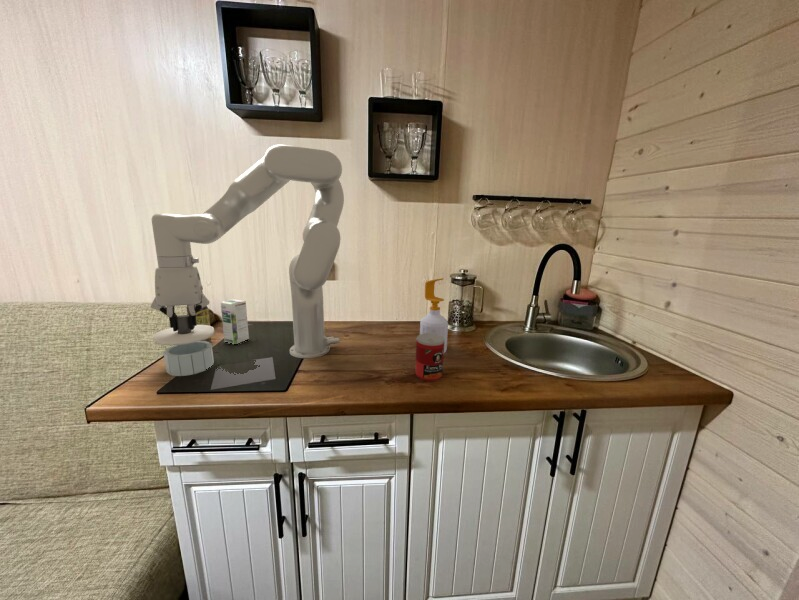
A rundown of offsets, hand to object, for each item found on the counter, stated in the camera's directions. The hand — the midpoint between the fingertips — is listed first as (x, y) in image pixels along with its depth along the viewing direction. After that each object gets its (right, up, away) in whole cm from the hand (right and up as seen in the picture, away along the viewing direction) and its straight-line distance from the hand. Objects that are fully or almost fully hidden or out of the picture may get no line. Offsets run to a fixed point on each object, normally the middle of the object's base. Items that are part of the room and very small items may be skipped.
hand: (184, 328), depth 87 cm
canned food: (+67, -13, +2) cm, 69 cm away
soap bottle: (+70, -9, +19) cm, 74 cm away
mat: (+16, -12, +1) cm, 21 cm away
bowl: (0, -11, +3) cm, 12 cm away
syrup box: (+3, -7, +23) cm, 24 cm away
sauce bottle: (-9, -7, +22) cm, 24 cm away
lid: (0, -2, 0) cm, 2 cm away
